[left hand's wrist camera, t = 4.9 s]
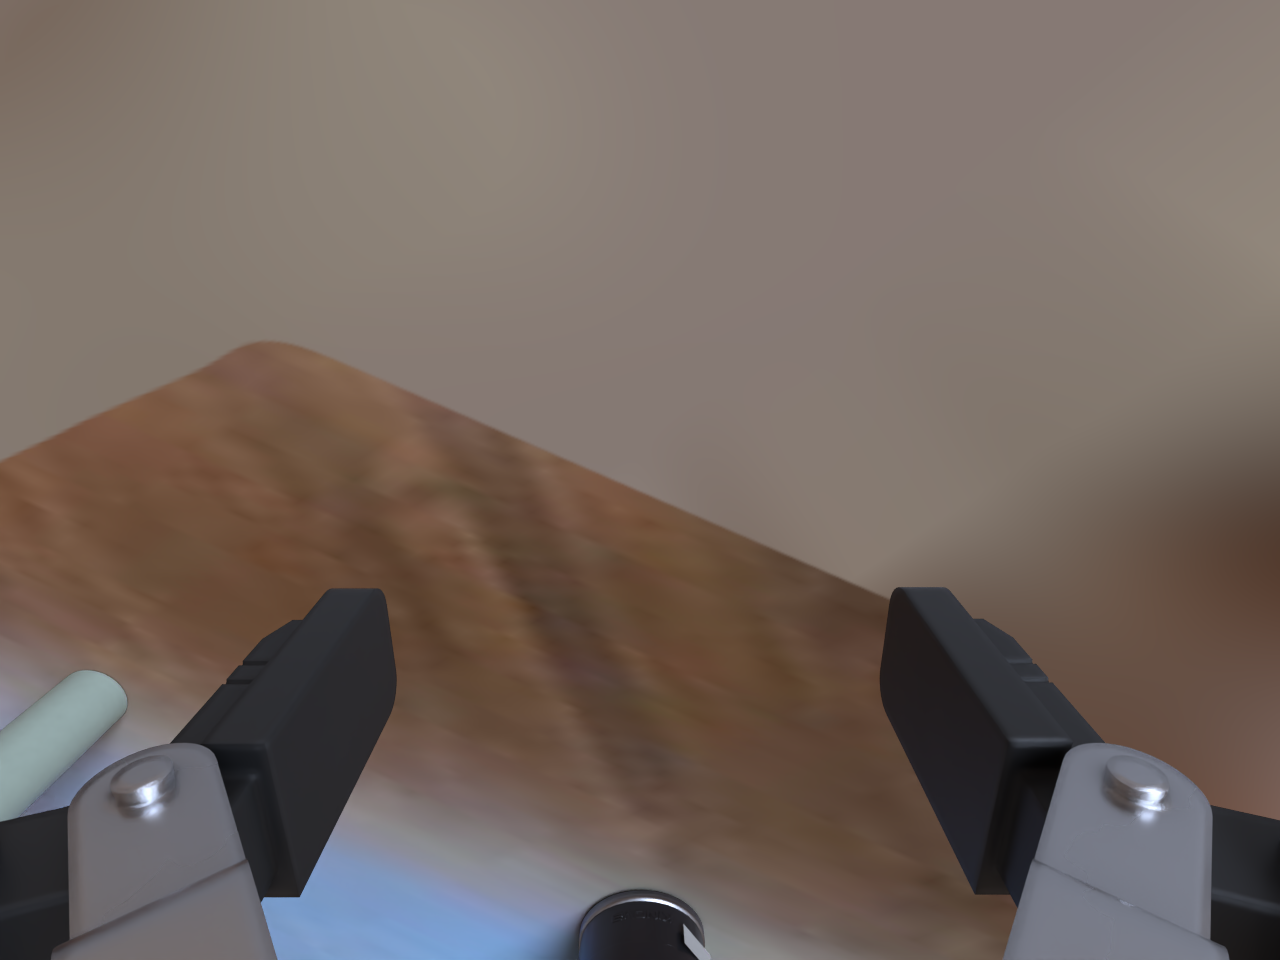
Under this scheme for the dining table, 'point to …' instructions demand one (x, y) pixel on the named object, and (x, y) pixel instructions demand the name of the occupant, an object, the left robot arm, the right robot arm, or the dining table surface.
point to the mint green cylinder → (55, 736)
